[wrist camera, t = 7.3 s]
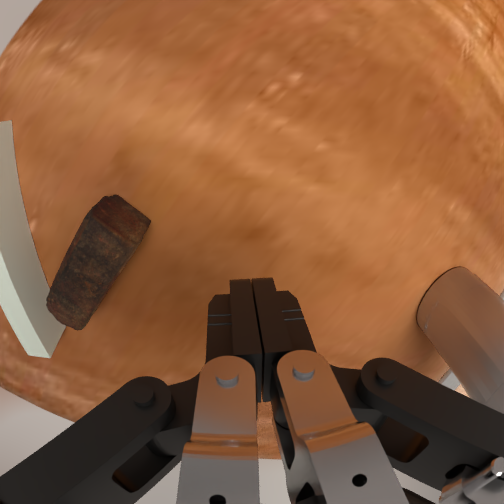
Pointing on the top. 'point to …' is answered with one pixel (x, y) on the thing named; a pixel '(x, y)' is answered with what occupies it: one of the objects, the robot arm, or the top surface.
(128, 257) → the brick
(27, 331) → the board
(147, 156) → the top surface
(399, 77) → the top surface
